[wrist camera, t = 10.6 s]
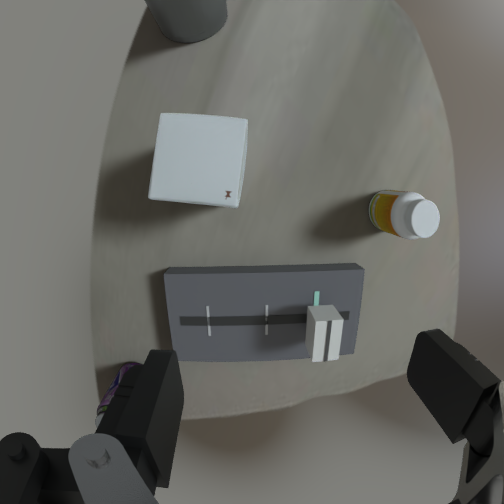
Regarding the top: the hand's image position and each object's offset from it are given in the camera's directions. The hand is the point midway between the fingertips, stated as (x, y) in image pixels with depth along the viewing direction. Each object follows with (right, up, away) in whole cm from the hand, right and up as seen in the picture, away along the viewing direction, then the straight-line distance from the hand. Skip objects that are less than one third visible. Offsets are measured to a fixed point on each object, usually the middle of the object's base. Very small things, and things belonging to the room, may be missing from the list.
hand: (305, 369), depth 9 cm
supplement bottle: (+16, +9, +27) cm, 33 cm away
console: (0, -4, +29) cm, 29 cm away
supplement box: (-6, +14, +25) cm, 29 cm away
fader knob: (+6, -5, +26) cm, 27 cm away
